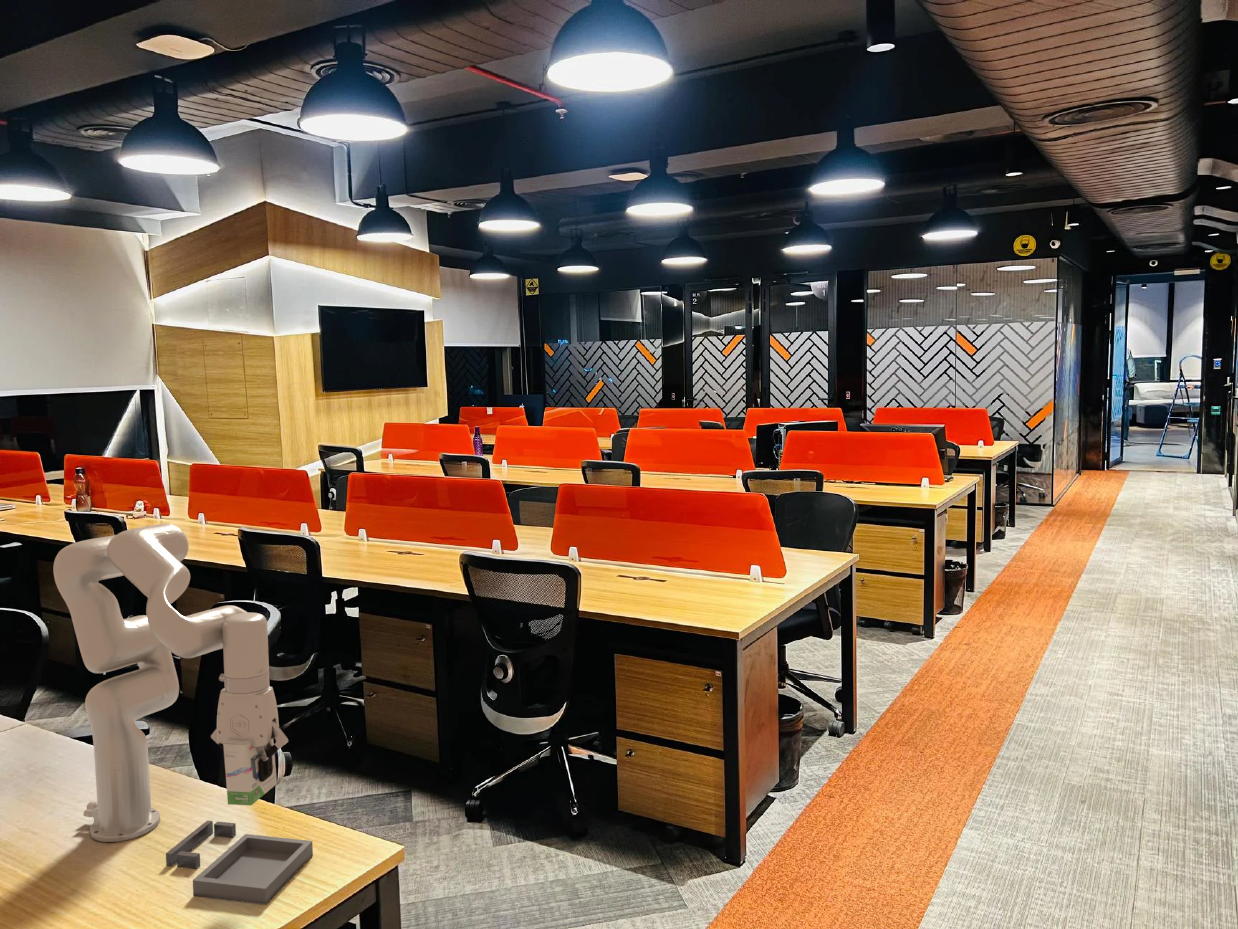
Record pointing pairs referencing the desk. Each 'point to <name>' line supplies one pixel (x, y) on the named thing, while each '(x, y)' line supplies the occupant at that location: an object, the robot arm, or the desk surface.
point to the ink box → (245, 773)
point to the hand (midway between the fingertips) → (250, 776)
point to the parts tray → (253, 869)
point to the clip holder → (183, 848)
